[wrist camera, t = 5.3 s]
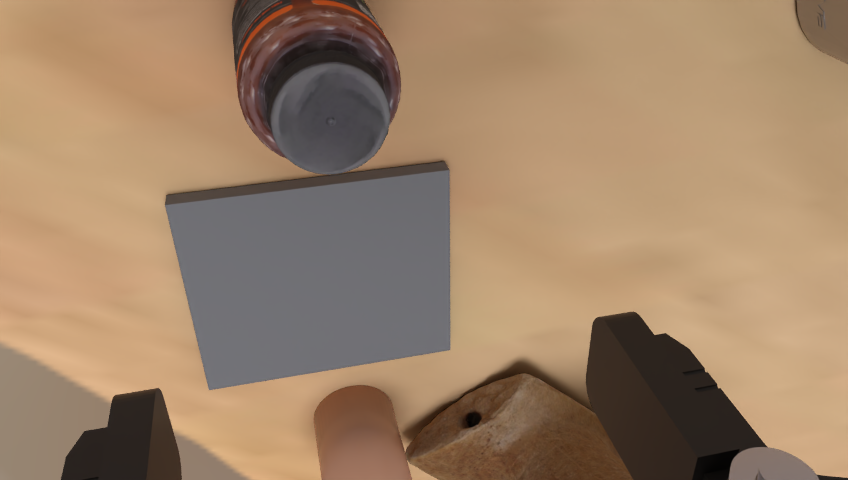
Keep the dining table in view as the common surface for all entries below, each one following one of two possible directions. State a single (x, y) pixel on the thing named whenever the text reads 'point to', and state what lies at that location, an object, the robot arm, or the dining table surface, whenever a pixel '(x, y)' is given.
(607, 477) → the stone cup
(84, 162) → the dining table surface
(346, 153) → the supplement bottle
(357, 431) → the terracotta jar
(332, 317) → the mat
